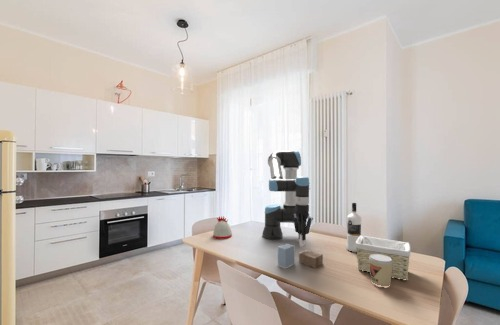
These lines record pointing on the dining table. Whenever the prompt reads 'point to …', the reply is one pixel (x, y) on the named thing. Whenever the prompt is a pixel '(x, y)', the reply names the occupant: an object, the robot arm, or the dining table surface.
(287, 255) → the slate block
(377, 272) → the coffee cup
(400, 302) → the dining table surface
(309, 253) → the walnut block
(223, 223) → the beanie hat
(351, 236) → the vodka
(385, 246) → the storage basket
